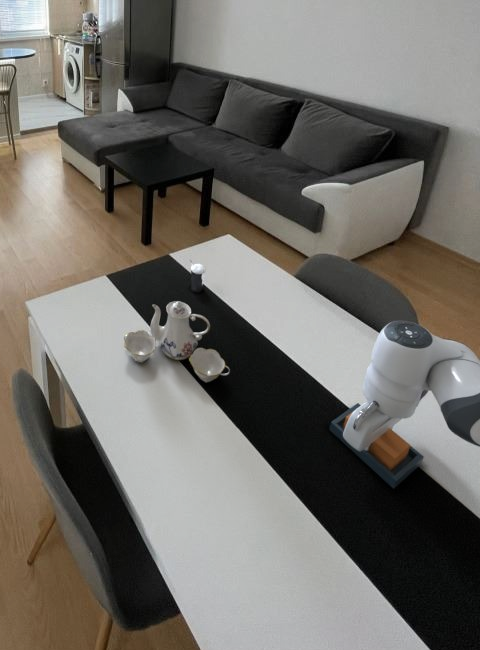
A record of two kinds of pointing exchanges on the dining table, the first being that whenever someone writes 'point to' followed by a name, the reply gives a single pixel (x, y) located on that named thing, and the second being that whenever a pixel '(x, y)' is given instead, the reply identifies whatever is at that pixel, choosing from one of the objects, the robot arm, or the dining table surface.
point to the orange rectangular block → (388, 448)
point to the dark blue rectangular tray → (390, 477)
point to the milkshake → (197, 276)
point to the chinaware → (176, 341)
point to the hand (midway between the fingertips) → (374, 438)
